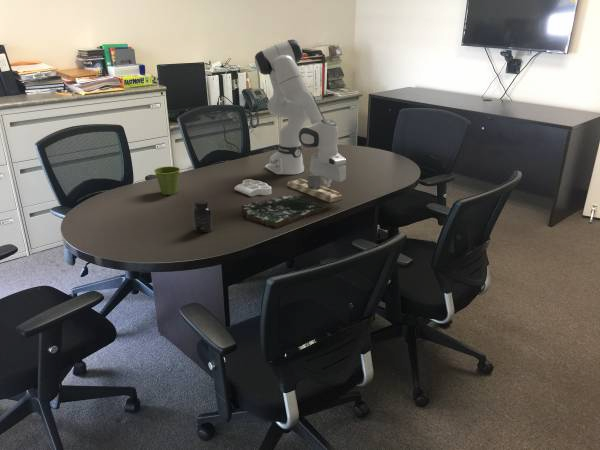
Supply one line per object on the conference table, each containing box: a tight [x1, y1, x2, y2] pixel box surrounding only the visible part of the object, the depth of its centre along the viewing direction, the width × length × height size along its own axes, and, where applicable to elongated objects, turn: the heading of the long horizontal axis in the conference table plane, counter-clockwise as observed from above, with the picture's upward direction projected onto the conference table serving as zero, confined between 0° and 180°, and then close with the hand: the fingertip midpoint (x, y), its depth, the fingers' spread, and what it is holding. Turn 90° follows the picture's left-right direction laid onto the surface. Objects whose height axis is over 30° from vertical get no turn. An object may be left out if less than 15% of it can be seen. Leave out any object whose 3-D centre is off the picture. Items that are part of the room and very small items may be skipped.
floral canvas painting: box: [241, 193, 328, 229], centre depth 218 cm, size 26×33×3 cm
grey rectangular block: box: [307, 173, 321, 189], centre depth 238 cm, size 4×4×6 cm
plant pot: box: [153, 166, 181, 196], centre depth 236 cm, size 12×12×11 cm
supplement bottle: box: [192, 199, 213, 234], centre depth 196 cm, size 7×7×12 cm
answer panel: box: [287, 177, 343, 203], centre depth 240 cm, size 30×7×3 cm, turn 41°
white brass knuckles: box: [234, 178, 272, 197], centre depth 242 cm, size 3×18×15 cm
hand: (326, 186), depth 232 cm, fingers closed
